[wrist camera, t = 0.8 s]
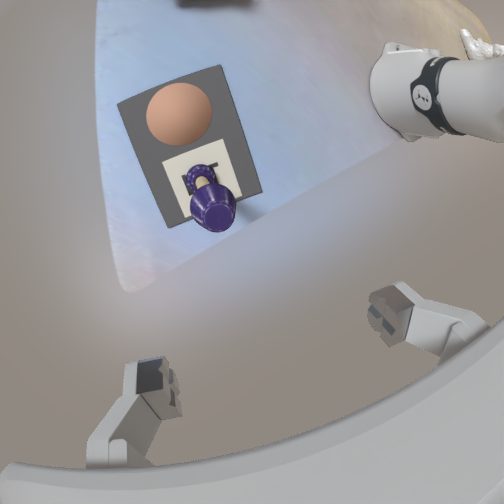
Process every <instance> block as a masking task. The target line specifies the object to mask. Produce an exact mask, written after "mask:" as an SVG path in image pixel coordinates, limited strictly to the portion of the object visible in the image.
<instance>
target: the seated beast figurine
mask: <svg viewBox="0 0 504 504" xmlns="http://www.w3.org/2000/svg"><path fill="white" fill-rule="evenodd" d="M459 32H460V36H461V38H462V41H463V44H464V47H465V50H466V52H467V55H468V58H469V59H470V60H481V59H493V58H497V57H499V56H501V55H503V54H504V46H501V45H498V44H495V45H490V44H487V43H484V42H483V40H482V39H477V40H474V39H473V38H472V36H471V34H470V33H469V32H468V30H467V29H460V31H459Z"/></svg>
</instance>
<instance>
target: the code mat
mask: <svg viewBox="0 0 504 504" xmlns="http://www.w3.org/2000/svg"><path fill="white" fill-rule="evenodd" d="M117 107H118V109H119V112H120V115H121V117H122V120H123V123H124V125H125V128H126V130H127V133H128V136H129V138H130V141H131V143H132V146H133V148H134V151H135V153H136V156H137V158H138V161H139V163H140V165H141V168H142V170H143V173H144V175H145V177H146V180H147V182H148V184H149V187H150V189H151V191H152V194H153V196H154V198H155V200H156V203H157V205H158V207H159V209H160V212H161V214H162V216H163V218H164V220H165V223H166V225H167V227H168V228H170V227H172V226H175V225H177V224H180V223H182V222H184V221H187V220H189V219H192V218H193V217H192V215H191V212H190V201H191V198H192V196H193V194H194V193H195V192H193V191H191V190H190V189H189V188H188V186H187V184H186V175H187V172H188V171H189V169H190V168H191V167H193V166H195V165H198V164H204V165H207V166H209V167H211V168H212V169H213V171H214V173H215V176H216V180H215V183H217V184H221V185H224V186H226V187H227V188H228V189H229V190H230V191H231V192H232V193H233V195H234V197H235V201H238V200H241V199H244V198H246V197H249V196H252V195H254V194H257V193H260V192H262V190H261V187H260V184H259V181H258V177H257V174H256V171H255V168H254V165H253V162H252V158H251V155H250V152H249V149H248V146H247V143H246V140H245V137H244V134H243V130H242V127H241V124H240V121H239V118H238V115H237V112H236V109H235V106H234V103H233V100H232V97H231V94H230V91H229V88H228V86H227V83H226V80H225V77H224V74H223V71H222V68H221V65H216V66H213V67H210V68H207V69H203V70H200V71H197V72H194V73H191V74H188V75H185V76H183V77H180V78H177V79H174V80H172V81H169V82H166V83H164V84H161V85H159V86H156V87H154V88H151V89H149V90H147V91H144V92H142V93H140V94H137V95H135V96H133V97H131V98H129V99H126V100H124V101H122V102H120V103H118V104H117Z"/></svg>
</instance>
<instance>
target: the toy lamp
mask: <svg viewBox="0 0 504 504" xmlns="http://www.w3.org/2000/svg"><path fill="white" fill-rule="evenodd" d="M215 180H216V176H215V173H214V171H213V169H212V168H211V167H209V166H207V165H204V164H198V165H195V166H193V167H191V168H190V169H189V171H188V172H187V175H186V184H187V186H188V188H189V189H190V190H191V191H193V192H195V193H194V194H193V196H192V198H191V201H190V212H191V215H192V217H193V219H194V220H195V221H196V222H197V223H198V224H199V225H201V226H202V227H204V228H205V229H207V230H209V231H211V232H223V231H225V230H227V229H228V228H229V227H230V226H231V225H232V223H233V221H234V218H235V211H236V201H235V197H234V195H233V193H232V192H231V191H230V190H229V189H228V188H227V187H226V186H224V185H221V184H217V183H215Z"/></svg>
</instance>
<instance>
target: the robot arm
mask: <svg viewBox="0 0 504 504" xmlns="http://www.w3.org/2000/svg"><path fill="white" fill-rule="evenodd" d="M396 49H397V50H396ZM370 91H371V97H372V100H373V103H374V106H375V108H376V110H377V112H378V114H379V115H380V117H381V118H382V119H383V120H384V121H385V122H386V123H387V124H388V125H389V126H391V127H392V128H394V129H396V130H398V131H399V132H400V134H401V135H402V136H403V138H404V139H405V140H406V141H408V142H414V141H415V140H417V139H419V138H421V137H422V136H423V137H429V138H439V136H441V135H443V134H444V133H445V132H446V133H448V134H452V135H466V134H468V135H471V136H475V137H479V138H482V139H486V140H489V141H493V142H496V143H502V142H504V54H503V55H501V56H499V57H497V58H493V59H481V60H459V59H457V58H454V57H447V56H442V57H441V52H440V51H439V50H429V49H422V50H420V49H416V48H413V47H409V46H405V45H401V44H397V43H393V42H390V43H386V45H385V47H384V51H383V55H382V57H381V58H380V59H379V60H378V61H377V63H376V64H375V66H374V68H373V70H372V73H371V79H370ZM369 302H370V303H371V306H370V307H369V309H368V320H369V323H370V325H371V327H372V328H373V329H374V330H375V331H378V332H381V333H380V334H381V335H380V337H381V338H382V340H383V341H384V342H385V343H386V344H387V346H388V347H391V346H393V345H395V344H397V343H400V342H402V341H404V340H405V341H407V342H409V343H411V344H413V345H416V346H418V347H420V348H422V349H424V350H427V351H429V352H431V353H433V354H435V355H438V356H440V360H439V362H438V364H437V367H436V368H434V369H433V370H432V371H430V372H428V373H426V374H425V375H423V376H421V377H420V378H418V379H416V380H415V381H413V382H411V383H410V384H408V385H406V386H404V387H403V388H401V389H399V390H397V391H395V392H393V393H392V394H390V395H388V396H386V397H384V398H382V399H380V400H378V401H376V402H374V403H372V404H370V405H368V406H366V407H364V408H361V409H359V410H357V411H355V412H353V413H351V414H348V415H346V416H344V417H341V418H339V419H337V420H334V421H332V422H329V423H327V424H324V425H322V426H319V427H317V428H314V429H311V430H309V431H306V432H303V433H301V434H297V435H294V436H291V437H288V438H285V439H282V440H279V441H276V442H273V443H269V444H266V445H262V446H259V447H255V448H251V449H248V450H244V451H240V452H235V453H231V454H227V455H222V456H218V457H212V458H207V459H202V460H196V461H191V462H184V463H177V464H169V465H160V466H155V465H154V464H152V463H151V462H150V461H149V460H148V459H146V458H145V455H146V453H147V451H148V449H149V447H150V445H151V443H152V441H153V439H154V436H155V434H156V432H157V430H158V428H159V426H160V424H161V420H166V419H171V418H176V417H181V416H182V410H181V402H180V400H179V399H178V397H177V396H178V395H179V393H180V391H179V385H178V381H177V378H176V375H175V373H174V371H173V370H172V369H170V368H169V362H168V361H167V359H166V357H165V356H160V357H155V358H149V359H144V360H139V361H134V362H128V363H127V364H126V366H125V374H124V385H123V397H119V398H118V400H117V401H116V402H115V404H114V405H113V406H112V408H111V409H110V410H109V412H108V413H107V415H106V416H105V417H104V419H103V420H102V421H101V423H100V424H99V426H98V427H97V428H96V429H95V431H94V432H93V434H92V435H91V436H90V438H89V439H88V443H87V456H86V469H82V468H63V467H51V466H42V465H34V464H27V463H21V462H12V463H10V464H9V465H8V466H7V467H6V468H5V469H4V470H3V471H2V472H1V474H0V504H504V317H503V318H502V319H500V320H499V321H498V322H497V323H496V324H495V325H493V326H492V327H490V326H489V325H488V324H487V323H486V322H485V321H483V320H482V319H481V318H480V317H479V316H478V315H477V314H476V313H474V312H473V311H469V310H465V309H461V308H458V307H454V306H450V305H447V304H443V303H439V302H436V301H431V300H424V299H423V298H422V297H420V296H419V295H418V294H417V293H416V292H414V290H412V289H411V288H410V287H409V286H408V285H407V284H405V283H404V282H403V281H398V282H396V283H394V284H391V285H389V286H387V287H384V288H382V289H379V290H377V291H374V292H372V293H371V294H370V296H369Z"/></svg>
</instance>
